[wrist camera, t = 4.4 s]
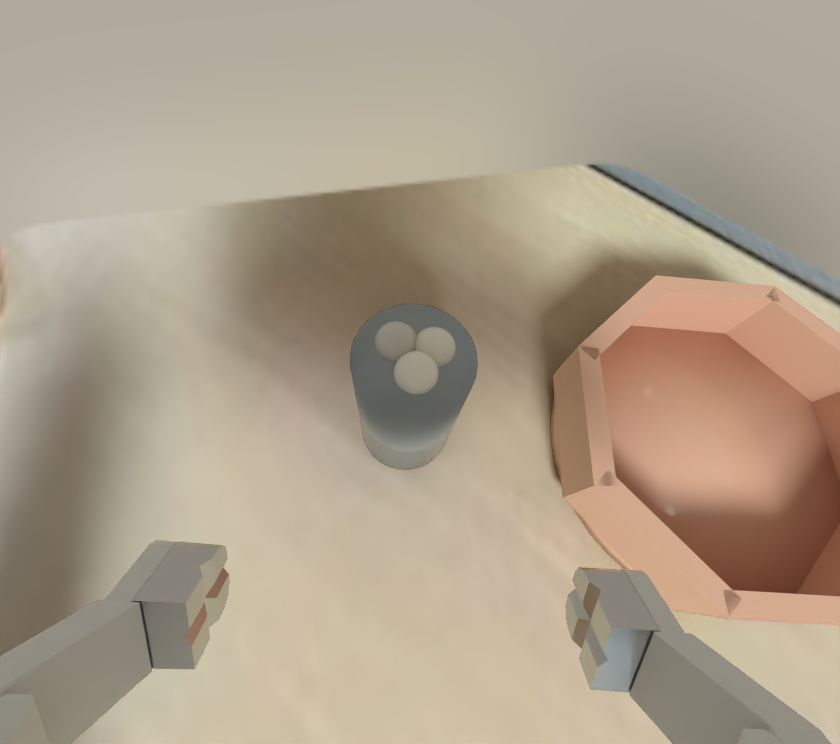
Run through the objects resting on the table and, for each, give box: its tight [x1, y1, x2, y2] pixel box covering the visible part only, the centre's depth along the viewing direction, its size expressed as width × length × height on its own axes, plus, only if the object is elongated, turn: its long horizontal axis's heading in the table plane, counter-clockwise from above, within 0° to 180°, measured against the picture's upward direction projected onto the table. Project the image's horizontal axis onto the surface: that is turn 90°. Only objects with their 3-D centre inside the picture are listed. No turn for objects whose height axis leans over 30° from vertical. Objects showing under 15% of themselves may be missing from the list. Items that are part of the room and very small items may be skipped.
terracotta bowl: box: [551, 275, 840, 625], centre depth 22 cm, size 16×16×4 cm
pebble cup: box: [350, 304, 478, 470], centre depth 19 cm, size 5×5×9 cm
